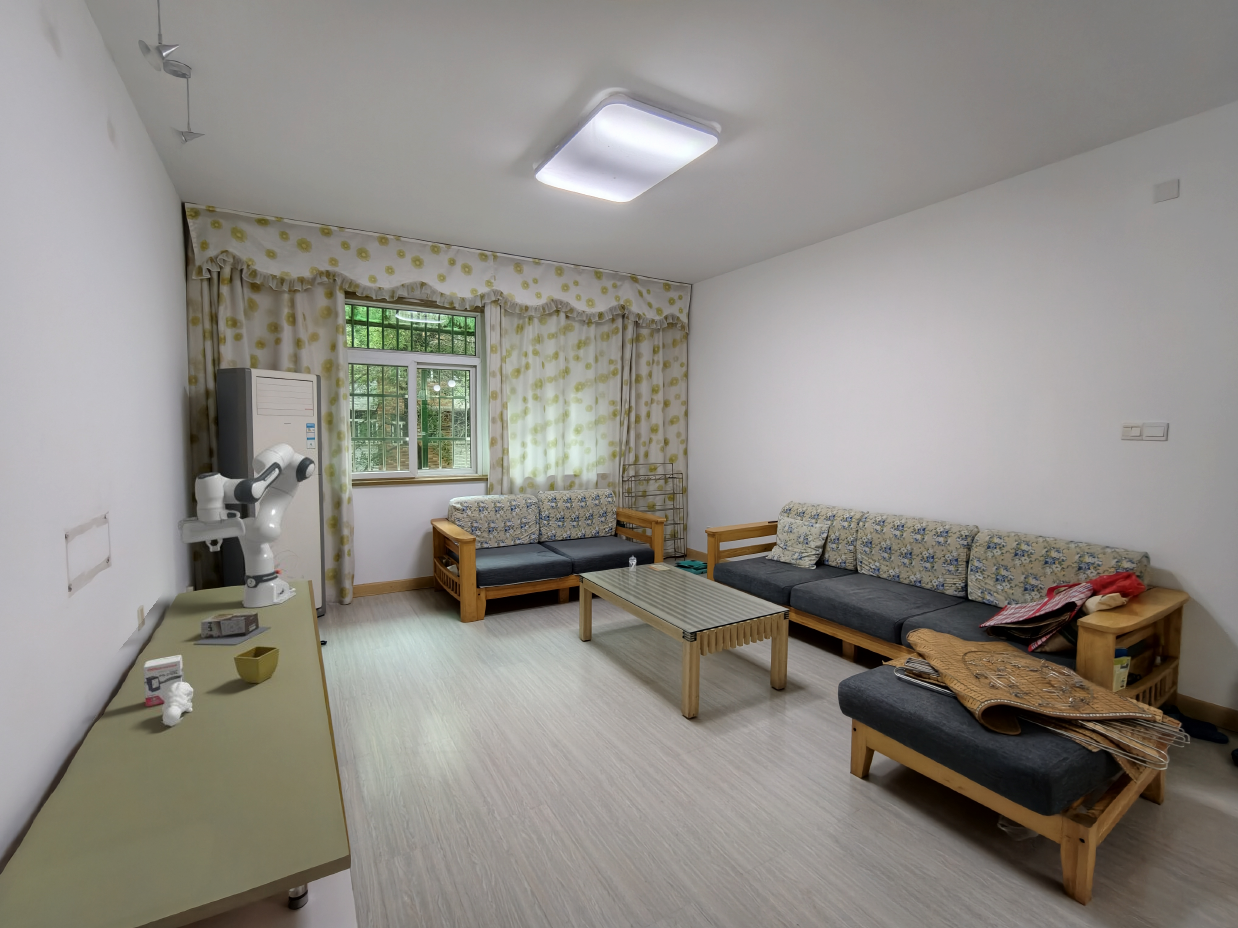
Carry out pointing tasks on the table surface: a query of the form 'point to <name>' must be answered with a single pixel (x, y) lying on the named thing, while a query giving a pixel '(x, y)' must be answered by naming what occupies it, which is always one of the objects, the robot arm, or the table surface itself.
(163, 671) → the ink box
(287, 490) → the robot arm
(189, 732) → the table surface
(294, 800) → the table surface
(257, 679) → the flower pot
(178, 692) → the white figurine
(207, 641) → the mat
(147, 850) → the table surface
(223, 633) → the coffee box
